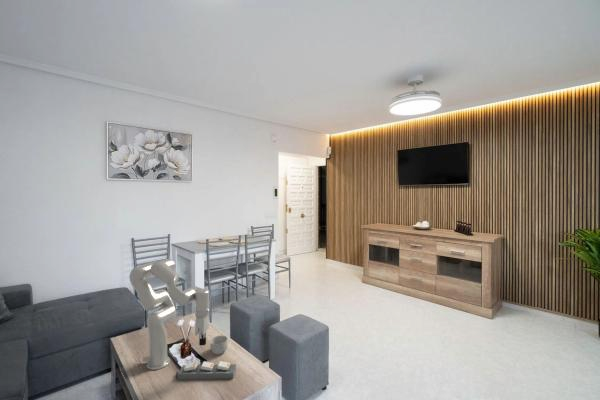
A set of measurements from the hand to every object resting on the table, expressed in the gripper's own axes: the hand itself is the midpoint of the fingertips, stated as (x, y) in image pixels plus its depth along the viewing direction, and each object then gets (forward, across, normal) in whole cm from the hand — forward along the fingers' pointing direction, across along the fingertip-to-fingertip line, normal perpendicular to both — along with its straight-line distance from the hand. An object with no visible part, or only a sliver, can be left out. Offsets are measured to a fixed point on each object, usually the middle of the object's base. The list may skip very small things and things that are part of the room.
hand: (202, 344), depth 158 cm
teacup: (+17, -24, +4) cm, 30 cm away
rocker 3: (+13, 0, +12) cm, 17 cm away
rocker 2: (+13, 0, +3) cm, 13 cm away
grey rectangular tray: (+17, 0, +3) cm, 17 cm away
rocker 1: (+13, 0, -6) cm, 14 cm away
